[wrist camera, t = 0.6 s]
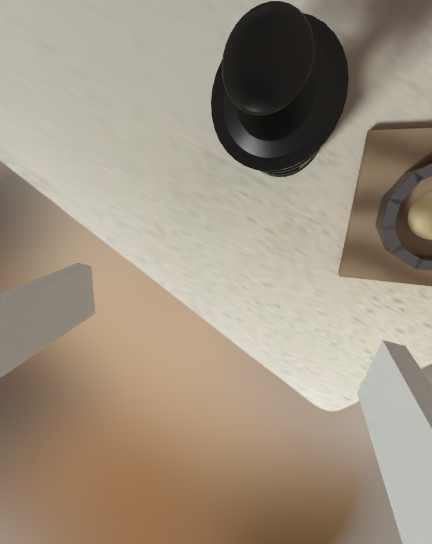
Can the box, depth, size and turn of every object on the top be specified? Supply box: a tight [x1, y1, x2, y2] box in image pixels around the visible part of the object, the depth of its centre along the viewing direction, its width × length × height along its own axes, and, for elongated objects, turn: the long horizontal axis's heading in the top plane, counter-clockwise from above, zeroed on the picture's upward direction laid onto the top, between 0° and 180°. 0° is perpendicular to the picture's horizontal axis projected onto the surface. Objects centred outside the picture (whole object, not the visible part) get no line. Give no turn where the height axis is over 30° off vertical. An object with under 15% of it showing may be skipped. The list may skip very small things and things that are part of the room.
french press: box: [211, 1, 349, 177], centre depth 21 cm, size 12×9×23 cm
